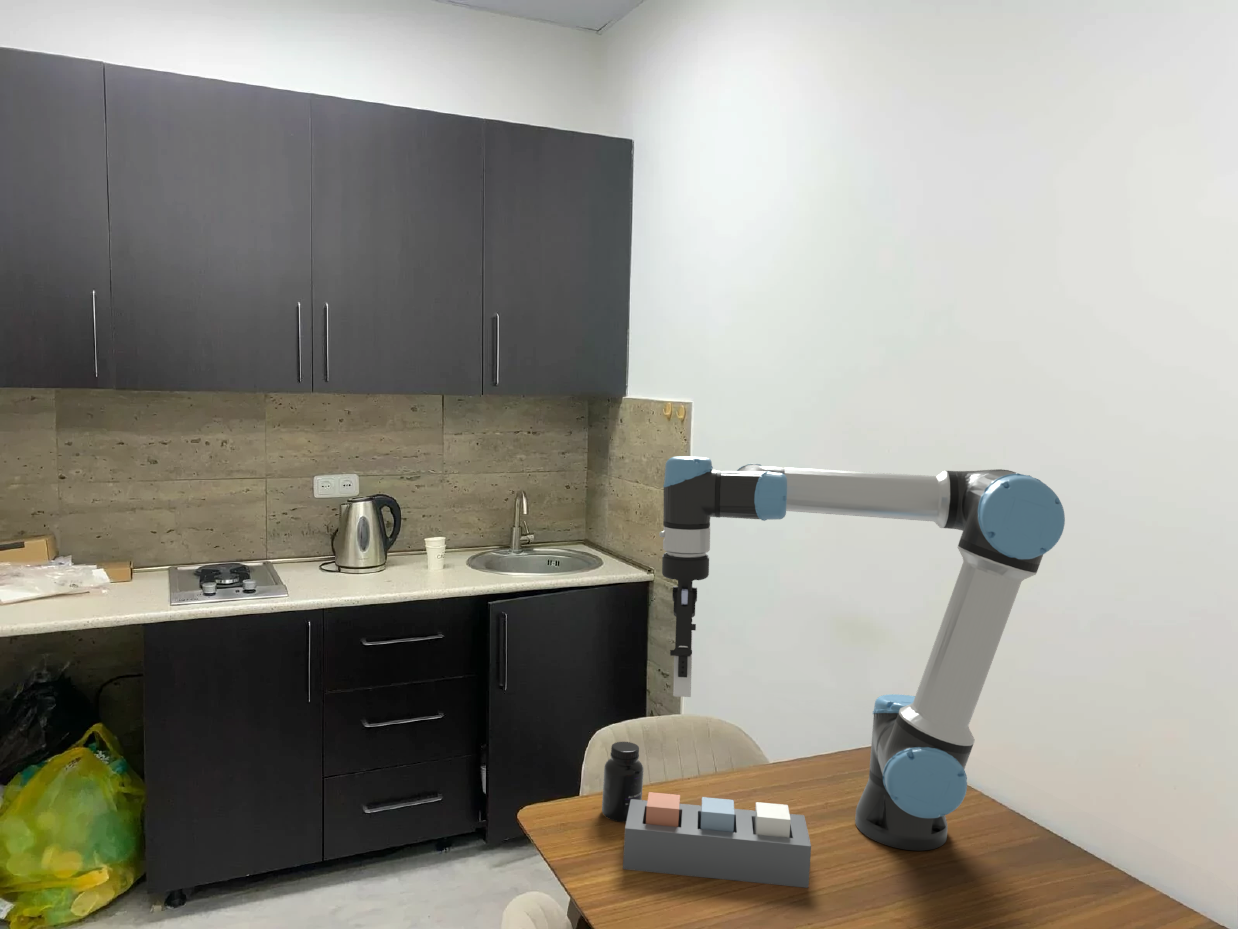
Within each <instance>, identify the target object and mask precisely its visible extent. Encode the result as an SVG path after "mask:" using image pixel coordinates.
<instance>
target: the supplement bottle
mask: <svg viewBox="0 0 1238 929" xmlns="http://www.w3.org/2000/svg"><path fill="white" fill-rule="evenodd" d="M609 755H610V758H609V759H607V761H606V762H605V763H604V769H603V783H602V797H601V798H602V801H601V803H602V804H601V812H602V814H603V816H605V817H606V818H607V819H609V820H611V821H614V822H621V823H622V822H623V823H626V821H627V816H628V811H629V806H630V801H631V799H636V800H643V785H644V766H643V763H642V762H641V761H640V760H639V759H640V747H639V745H638V744H636V743H634V742H631V741H617V742H614V743H613V744H611V748H610V754H609Z"/></svg>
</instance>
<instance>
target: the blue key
mask: <svg viewBox="0 0 1238 929" xmlns="http://www.w3.org/2000/svg"><path fill="white" fill-rule="evenodd" d="M700 806H701V823H700V829H703V830H714V831H724V832H733V830H734V809H735V801H734V799H728V798H727V799H726V798H717V797H708V796H707V797H706V796H702V797H701V805H700Z"/></svg>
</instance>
